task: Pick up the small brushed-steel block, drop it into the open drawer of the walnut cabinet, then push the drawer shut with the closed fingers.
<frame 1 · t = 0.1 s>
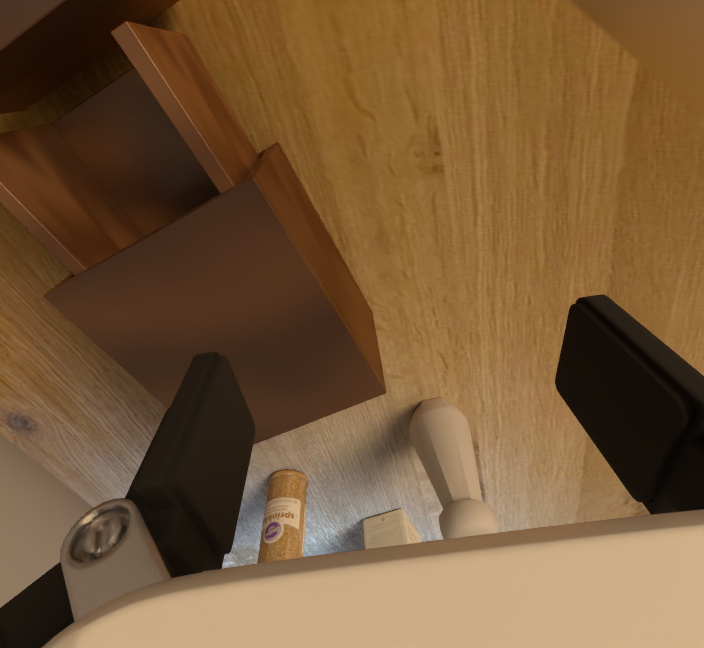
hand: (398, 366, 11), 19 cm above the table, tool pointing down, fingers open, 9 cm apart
small box: (392, 525, 51), on the table
salt shaker: (433, 410, 39), on the table
sprinkles bottle: (288, 478, 44), on the table
drawer: (113, 130, 20), point 5 cm above the table, slide at 8.0 cm
cabinet: (259, 274, 30), on the table
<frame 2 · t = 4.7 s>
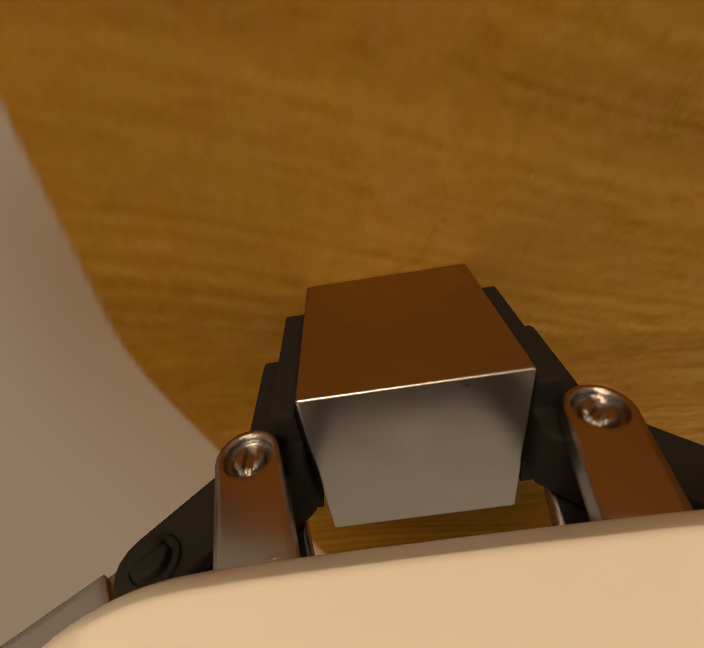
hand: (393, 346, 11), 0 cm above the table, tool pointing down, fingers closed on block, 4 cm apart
block: (392, 339, 12), on the table, touching gripper
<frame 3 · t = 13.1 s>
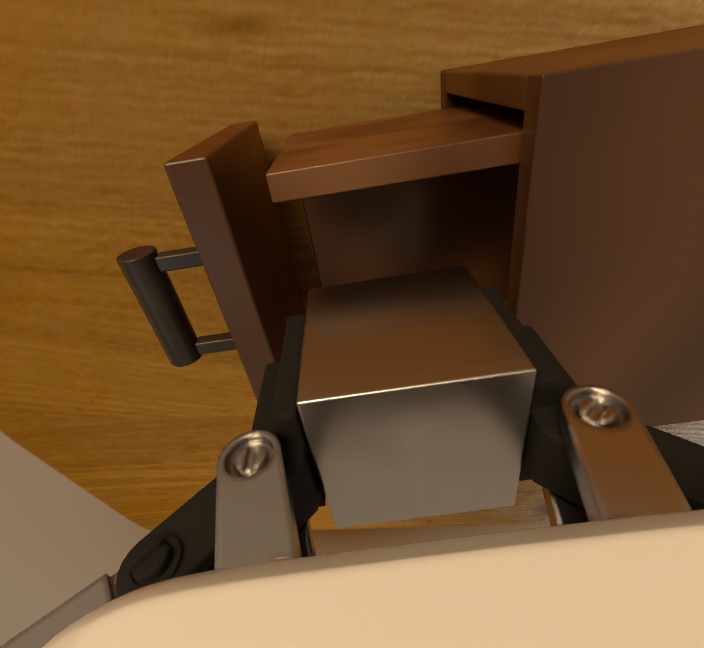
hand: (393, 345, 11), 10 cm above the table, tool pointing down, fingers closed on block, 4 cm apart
drawer: (360, 269, 16), point 5 cm above the table, slide at 8.0 cm
cabinet: (586, 192, 19), on the table
block: (392, 340, 12), point 10 cm above the table, touching gripper
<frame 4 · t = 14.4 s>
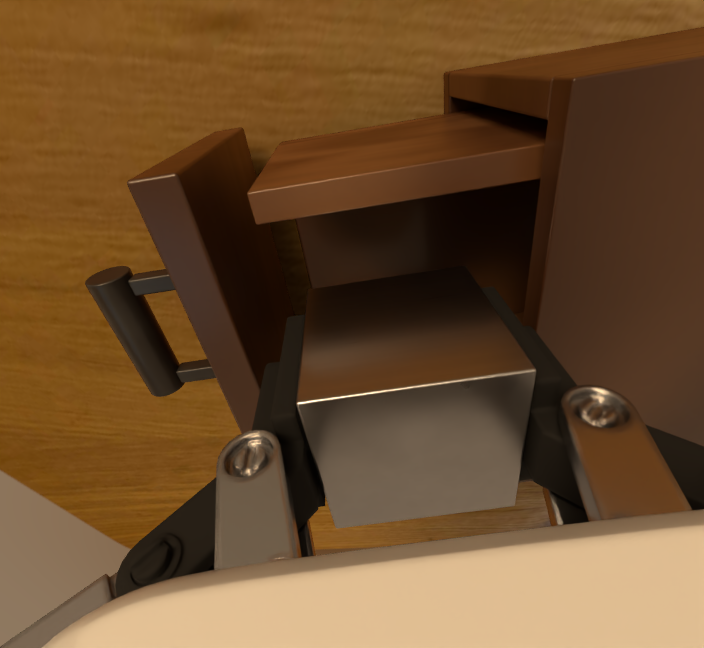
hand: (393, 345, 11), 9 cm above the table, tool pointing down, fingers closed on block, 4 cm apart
drawer: (357, 289, 15), point 5 cm above the table, slide at 8.0 cm
cabinet: (598, 202, 18), on the table
block: (392, 340, 12), point 8 cm above the table, touching gripper
when the fingers open (11 cm above the table, at t = 21.4 s): block drops 9 cm, resting on drawer.
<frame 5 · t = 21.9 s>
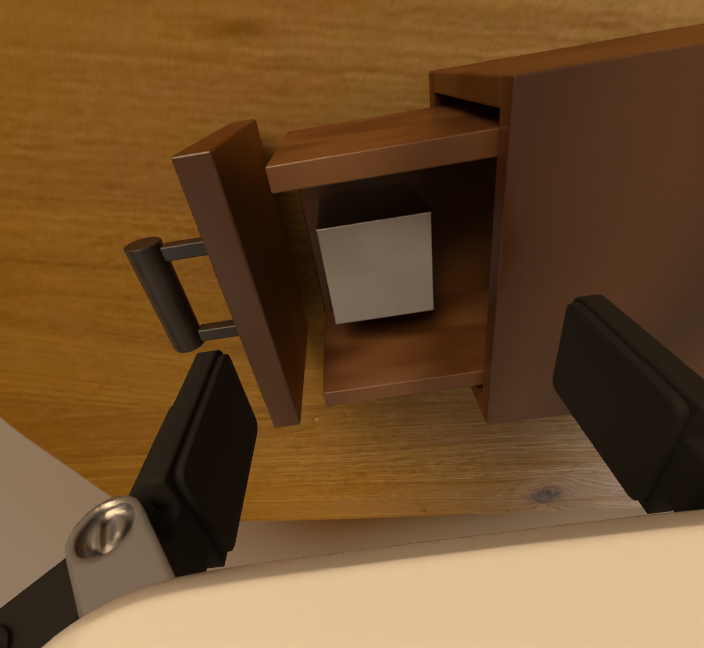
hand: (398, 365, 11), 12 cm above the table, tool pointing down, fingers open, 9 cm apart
drawer: (354, 259, 17), point 5 cm above the table, slide at 8.0 cm, touching block
cabinet: (569, 187, 20), on the table
block: (370, 234, 19), point 2 cm above the table, touching drawer
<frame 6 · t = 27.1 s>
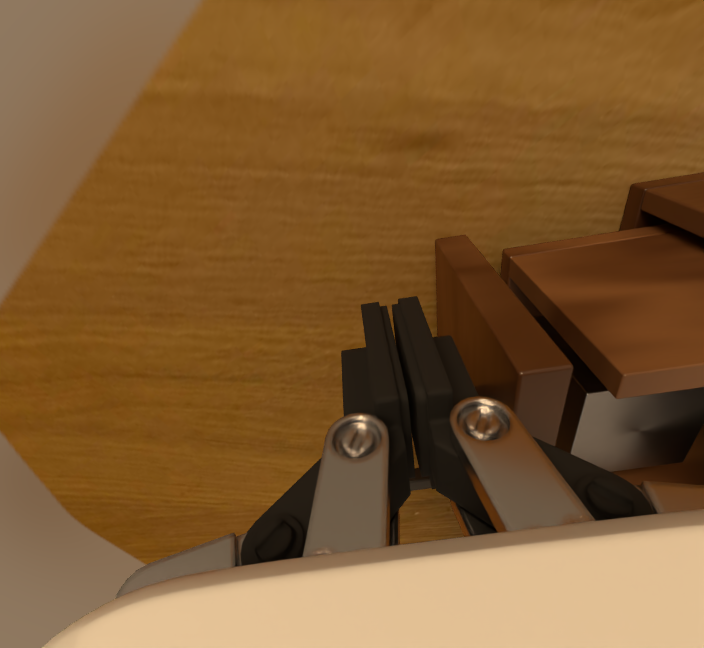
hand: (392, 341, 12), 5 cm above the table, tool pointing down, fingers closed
drawer: (585, 400, 14), point 5 cm above the table, slide at 6.6 cm, touching block, gripper
block: (571, 352, 17), point 2 cm above the table, touching drawer
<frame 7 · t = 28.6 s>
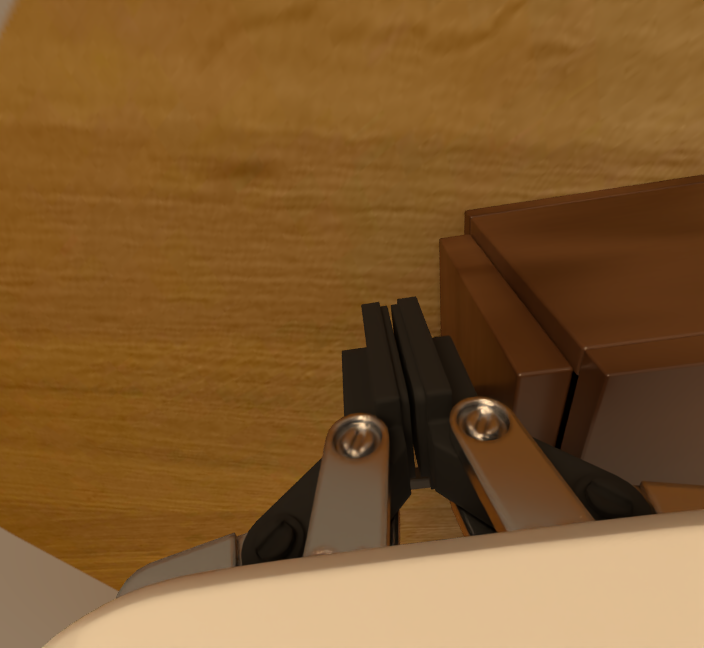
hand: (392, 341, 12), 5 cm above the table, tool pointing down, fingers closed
drawer: (589, 403, 14), point 5 cm above the table, slide at 0.0 cm, touching block, cabinet, gripper
cabinet: (618, 318, 18), on the table
block: (576, 353, 17), point 2 cm above the table, touching drawer
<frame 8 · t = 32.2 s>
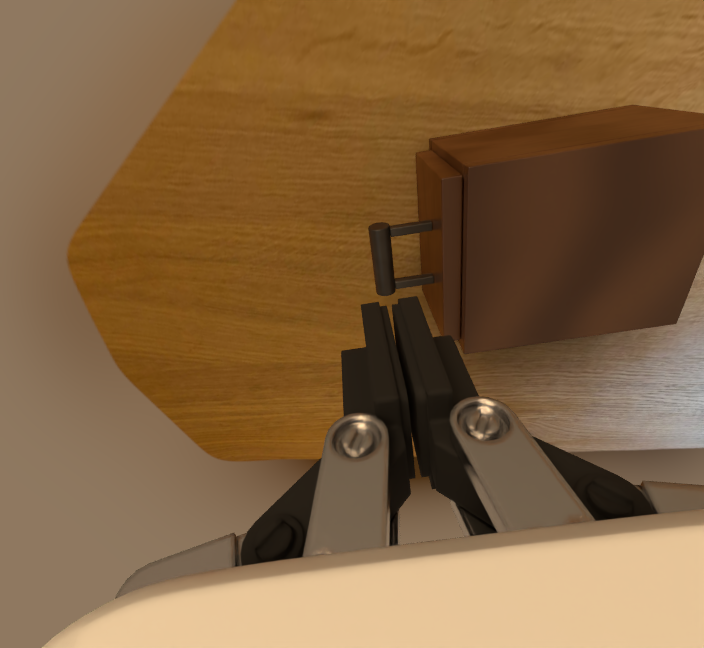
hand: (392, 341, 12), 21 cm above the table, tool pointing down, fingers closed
drawer: (494, 237, 27), point 5 cm above the table, slide at 0.0 cm, touching block, cabinet
cabinet: (521, 208, 31), on the table
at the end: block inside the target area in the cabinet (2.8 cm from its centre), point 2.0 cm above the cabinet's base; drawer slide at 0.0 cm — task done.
